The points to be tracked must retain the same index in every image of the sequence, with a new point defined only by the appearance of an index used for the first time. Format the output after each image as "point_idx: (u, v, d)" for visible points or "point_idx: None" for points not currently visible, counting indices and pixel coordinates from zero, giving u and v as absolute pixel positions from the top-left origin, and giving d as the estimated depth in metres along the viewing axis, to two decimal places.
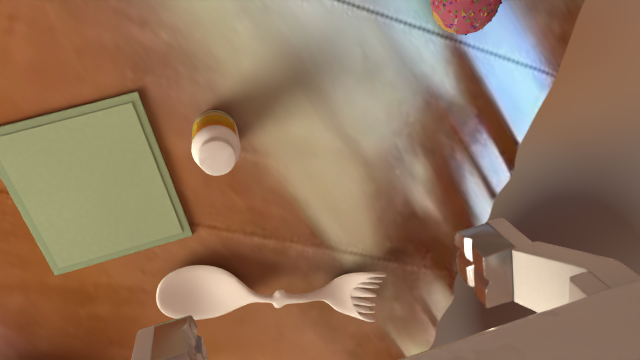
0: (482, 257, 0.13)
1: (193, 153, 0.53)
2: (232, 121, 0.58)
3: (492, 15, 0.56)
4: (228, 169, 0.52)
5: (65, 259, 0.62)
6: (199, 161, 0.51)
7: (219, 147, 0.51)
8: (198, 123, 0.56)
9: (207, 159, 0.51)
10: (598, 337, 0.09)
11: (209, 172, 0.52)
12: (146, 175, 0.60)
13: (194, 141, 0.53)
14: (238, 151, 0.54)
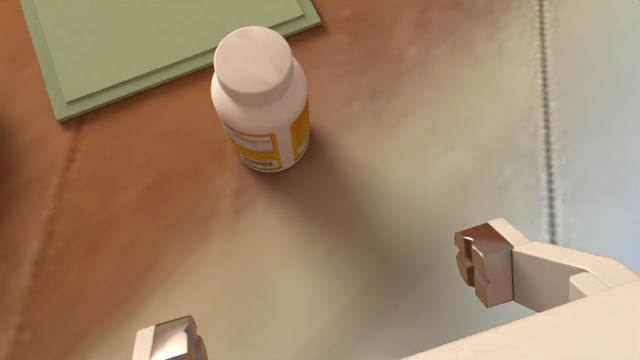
0: (481, 257, 0.13)
1: None
2: (298, 150, 0.31)
3: None
4: (229, 82, 0.24)
5: None
6: (243, 29, 0.25)
7: (278, 60, 0.24)
8: None
9: (249, 42, 0.25)
10: (598, 337, 0.09)
11: (220, 48, 0.25)
12: (180, 40, 0.36)
13: None
14: (261, 122, 0.26)
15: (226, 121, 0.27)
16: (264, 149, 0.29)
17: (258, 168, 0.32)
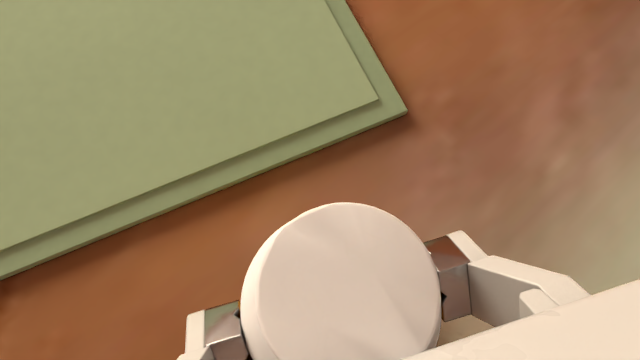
0: (437, 271, 0.13)
1: None
2: None
3: None
4: (295, 358, 0.10)
5: None
6: (321, 210, 0.11)
7: (408, 294, 0.10)
8: None
9: (337, 245, 0.11)
10: (598, 337, 0.09)
11: (269, 263, 0.10)
12: (178, 144, 0.21)
13: None
14: None
15: None
16: None
17: None
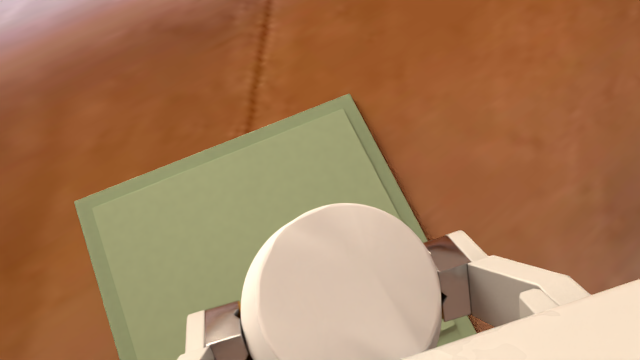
0: (437, 271, 0.13)
1: None
2: None
3: None
4: (295, 359, 0.10)
5: (111, 218, 0.32)
6: (321, 211, 0.11)
7: (408, 295, 0.10)
8: None
9: (337, 246, 0.11)
10: (598, 337, 0.09)
11: (269, 263, 0.10)
12: None
13: None
14: None
15: None
16: None
17: None
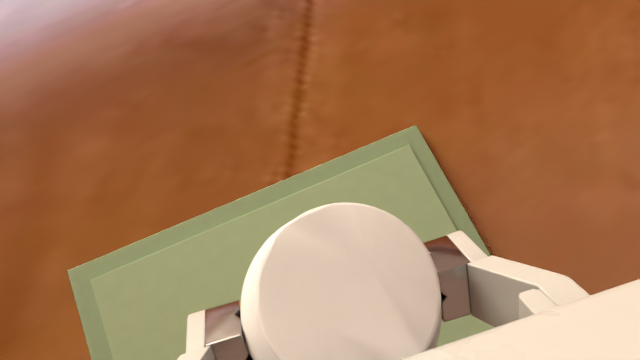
0: None
1: None
2: None
3: None
4: (295, 358, 0.10)
5: (115, 293, 0.24)
6: (321, 210, 0.11)
7: (408, 294, 0.10)
8: None
9: (337, 245, 0.11)
10: (598, 337, 0.09)
11: (269, 262, 0.10)
12: None
13: None
14: None
15: None
16: None
17: None
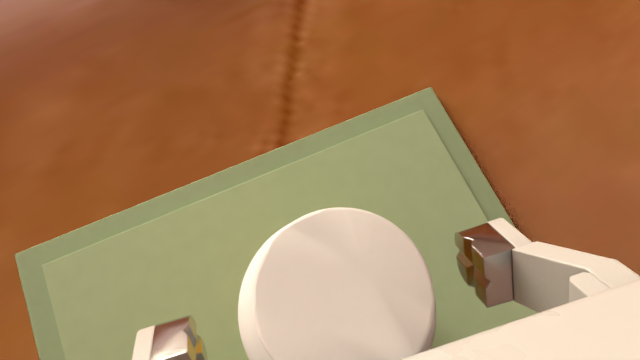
0: (481, 257, 0.13)
1: None
2: None
3: None
4: None
5: (71, 281, 0.20)
6: (317, 215, 0.11)
7: (402, 298, 0.10)
8: None
9: (333, 250, 0.11)
10: (598, 337, 0.09)
11: (266, 266, 0.11)
12: None
13: None
14: None
15: None
16: None
17: None
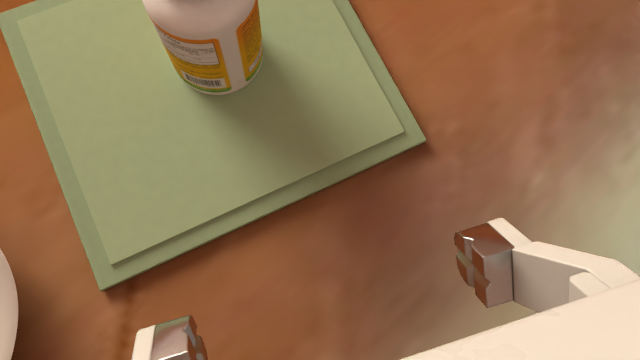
0: (481, 257, 0.13)
1: None
2: (249, 67, 0.27)
3: None
4: None
5: (38, 31, 0.29)
6: None
7: None
8: None
9: None
10: (598, 337, 0.09)
11: None
12: (253, 170, 0.28)
13: None
14: (200, 22, 0.22)
15: (158, 23, 0.22)
16: (208, 62, 0.25)
17: (204, 89, 0.28)
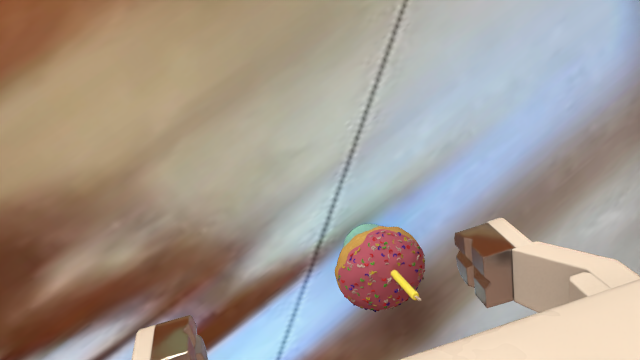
0: (482, 257, 0.13)
1: None
2: None
3: (363, 305, 0.45)
4: None
5: None
6: None
7: None
8: None
9: None
10: (598, 337, 0.09)
11: None
12: None
13: None
14: None
15: None
16: None
17: None
